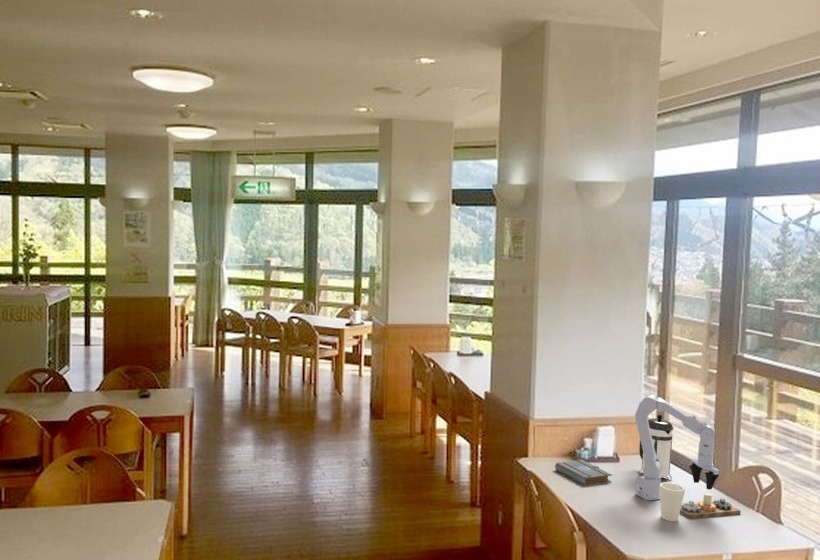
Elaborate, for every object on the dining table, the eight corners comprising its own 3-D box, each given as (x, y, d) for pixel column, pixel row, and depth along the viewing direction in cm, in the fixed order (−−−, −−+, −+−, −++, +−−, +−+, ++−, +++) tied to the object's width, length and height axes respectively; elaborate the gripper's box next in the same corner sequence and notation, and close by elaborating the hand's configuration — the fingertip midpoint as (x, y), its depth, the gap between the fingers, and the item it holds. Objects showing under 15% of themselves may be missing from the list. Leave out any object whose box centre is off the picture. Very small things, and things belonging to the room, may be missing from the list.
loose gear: (706, 511, 282) (707, 498, 282) (694, 505, 289) (695, 492, 288) (719, 510, 285) (720, 497, 284) (707, 504, 291) (708, 491, 291)
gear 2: (721, 510, 285) (722, 503, 285) (709, 503, 291) (709, 497, 291) (734, 509, 287) (735, 502, 287) (722, 502, 294) (723, 495, 293)
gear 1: (689, 513, 280) (690, 505, 279) (678, 506, 286) (678, 499, 286) (703, 511, 282) (704, 504, 282) (691, 505, 288) (692, 498, 288)
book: (554, 471, 328) (555, 461, 328) (582, 468, 335) (583, 458, 335) (583, 486, 309) (584, 475, 309) (612, 483, 316) (612, 472, 316)
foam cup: (670, 524, 271) (672, 492, 270) (652, 515, 279) (654, 483, 278) (687, 521, 275) (689, 489, 274) (668, 512, 283) (671, 481, 283)
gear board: (689, 518, 278) (689, 512, 278) (672, 509, 287) (672, 502, 287) (740, 514, 286) (740, 507, 286) (722, 504, 296) (722, 498, 295)
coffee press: (675, 475, 330) (680, 414, 329) (667, 484, 317) (673, 420, 315) (638, 467, 340) (643, 407, 338) (629, 476, 326) (634, 413, 324)
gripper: (726, 459, 284) (723, 491, 285) (701, 448, 298) (698, 479, 299) (712, 459, 282) (709, 492, 283) (687, 448, 296) (684, 479, 297)
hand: (702, 485), depth 291 cm, fingers open, 7 cm apart
